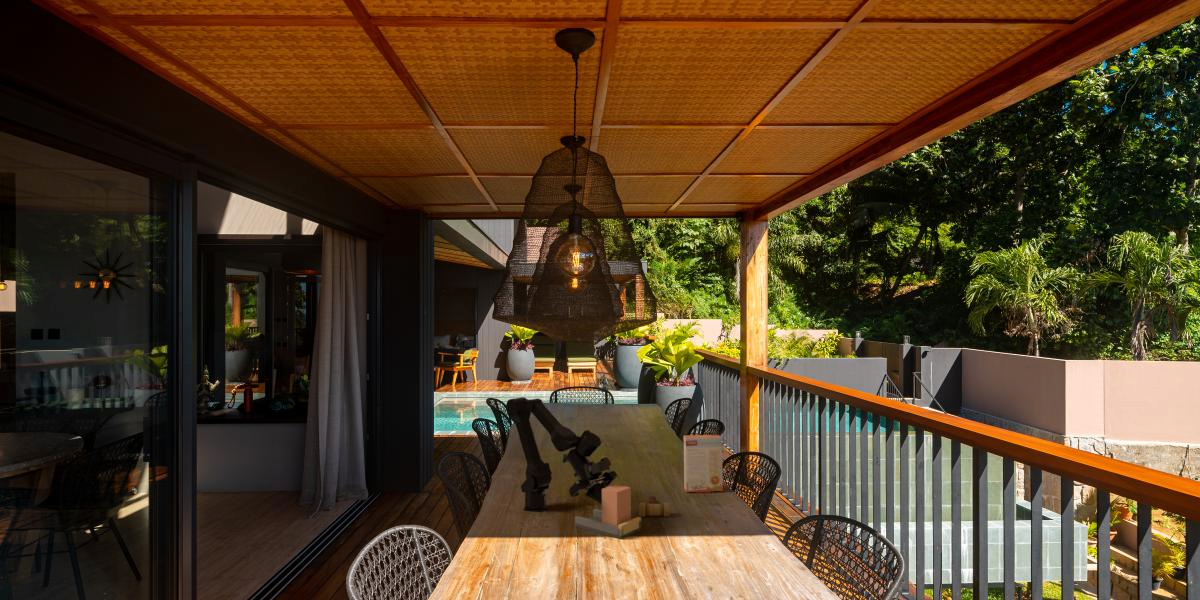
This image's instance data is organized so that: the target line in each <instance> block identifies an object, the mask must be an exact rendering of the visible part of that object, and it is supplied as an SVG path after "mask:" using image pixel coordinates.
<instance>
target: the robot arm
mask: <svg viewBox="0 0 1200 600" xmlns="http://www.w3.org/2000/svg"><path fill="white" fill-rule="evenodd" d="M505 411H506V414H507V416H508V418H509V419H510V421H512V423H514V424H515V426H516V427H515V428H516V431H517V432H518V437H519V441H520V443H521V447H522V451H523V455H524V457H525V461H526V468H525V469H526V470H525V480H524V482H522V484H521V485H520V489H521V492H522V493H524V502H525V503H524V507H523V511H529V510H531V511H532V512H542V511H543V510H544V509H545V508H547V506H548V505H547V494H546V490H548V489H549V488H550V484H551V482H552V480H553V479H552V478H553V475H552V474H553V472H552V470H551V467H550V464H549V463H548V462H544V461H543V460H542V458H541V455H540V451H539V447H538V444H537V441H536V438H535V435H534V431H533V429H532V426H531V425H532V424H531V422H530V418H531V414H532V415H533V416H534V417H535V418H536V420H537V421H538V422H539V423H540V424H541V426H542V427H543V428H544V429H545V430H546V431H547V432H548V434H549V435H550V440H551V443H552V444H553V446H554V448H555V450H557V451H558V452H561V453H562V452H567V451H568V452H567V453H564V454H563V458H562V463H563V464H565V463H569V465H570V466H571V468H572V470H574V474H573V476H574V477H575V478H577V477H578V478H579V480H576V481H575V482H574V483H573V484H572V485H571V486H570V488H569V489H568V494H569V495H570V497H571V499H574V498H577V497H578V496H579V495H580V493H579V492H580V491H583V490H585V493H584V496H585V497H588V498H591V499H592V500H594V501H596V502H598V503H599V504H601V505H602V489H603V488H606V487H609V486H611V483H613V482H614V480H616V478H618V474H617V472H616V471H615V470H613V469H612V470H611V467H612V462H611V460H610V459H609V458H608V457H607V456H606V457H603V458H600V461H598V462H596V463H595V462H594V461H593V460H592V461H590V460H589V457H592V455H593V454H594V453H595V452H596V451H597V450H598V448H599V447H600V446H601V445H602V439H600V437H599V436H598V435H597V434H595V433H593V432H591V431H590V430H589V429H586V430H584V431H583V432H582V434H581V435H580V436H578V435H577V434H576V433H575V432H574V431H573V430H572V429H571V428H568V427H566V426H564V425H562V424H561V423H560V422H559V420H558V419H557V418H556V417H555V416H554V415H553V413H552V412H551V411H550V410H549V409H548V408H547V406H545V404H544V403H543V400H542V399H541V398H533V399H528V398H526V397H524V396H523V397H514V398H509V399H508V400H507V401H506V405H505ZM603 472H604V473H603ZM531 511H530V512H531Z"/></svg>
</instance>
